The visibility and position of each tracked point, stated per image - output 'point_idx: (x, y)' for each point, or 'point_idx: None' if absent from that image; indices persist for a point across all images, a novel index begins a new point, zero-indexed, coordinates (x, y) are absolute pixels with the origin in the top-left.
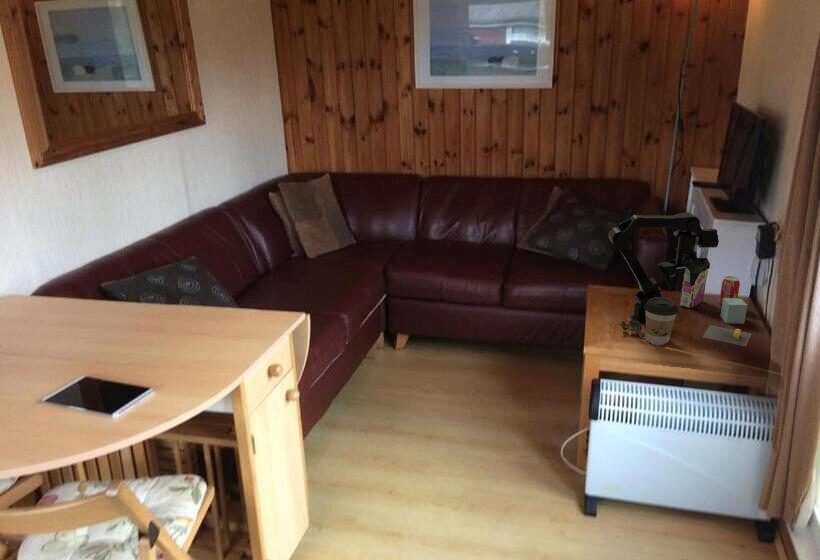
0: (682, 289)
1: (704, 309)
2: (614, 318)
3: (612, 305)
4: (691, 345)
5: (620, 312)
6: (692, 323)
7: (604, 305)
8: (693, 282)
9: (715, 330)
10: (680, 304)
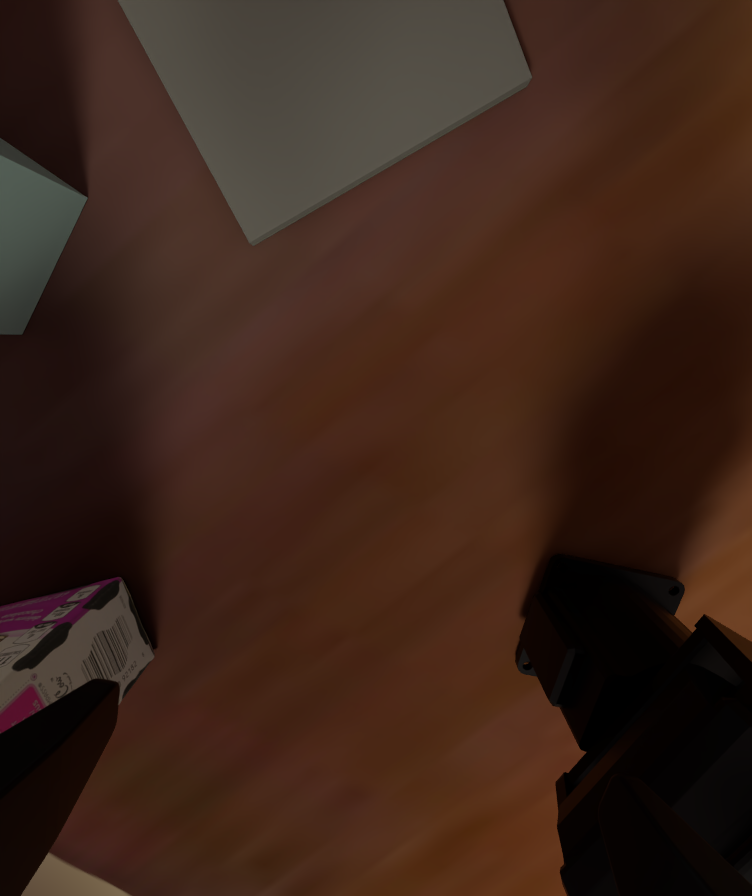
0: None
1: (25, 515)
2: None
3: None
4: (737, 32)
5: None
6: (331, 373)
7: None
8: (44, 748)
9: (299, 123)
10: (148, 655)
